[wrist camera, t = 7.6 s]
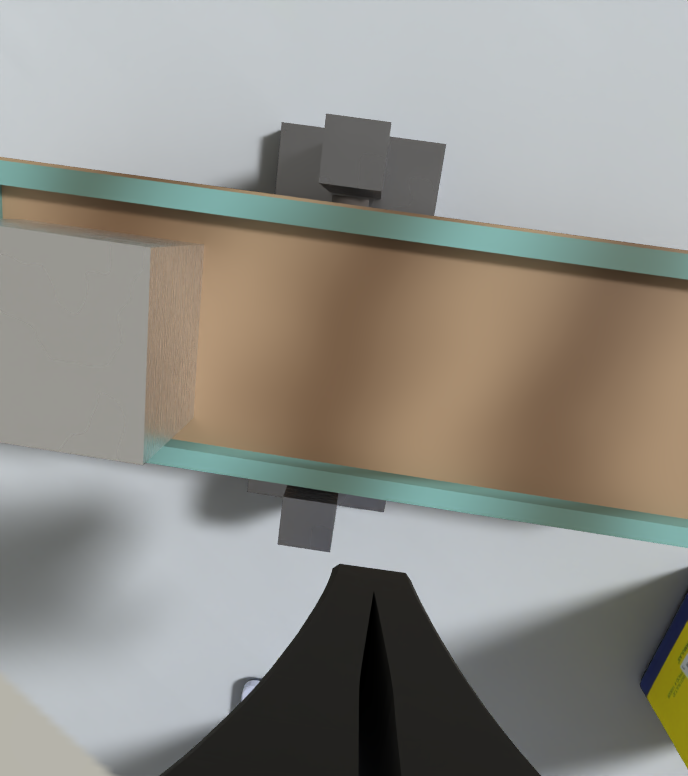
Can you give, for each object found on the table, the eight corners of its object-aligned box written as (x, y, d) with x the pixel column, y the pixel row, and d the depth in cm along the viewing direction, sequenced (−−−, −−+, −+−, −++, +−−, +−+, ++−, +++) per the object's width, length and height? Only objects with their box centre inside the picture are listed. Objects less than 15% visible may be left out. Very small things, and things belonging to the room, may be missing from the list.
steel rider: (193, 417, 16) (143, 465, 13) (29, 393, 17) (-62, 432, 13) (203, 244, 15) (151, 247, 12) (25, 219, 15) (-78, 214, 12)
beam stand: (443, 148, 17) (462, 122, 13) (383, 502, 21) (384, 566, 17) (286, 127, 18) (258, 95, 14) (252, 482, 21) (221, 541, 17)
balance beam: (789, 258, 15) (840, 261, 13) (694, 531, 17) (728, 564, 16) (8, 152, 16) (-39, 142, 14) (16, 425, 18) (-23, 445, 17)
